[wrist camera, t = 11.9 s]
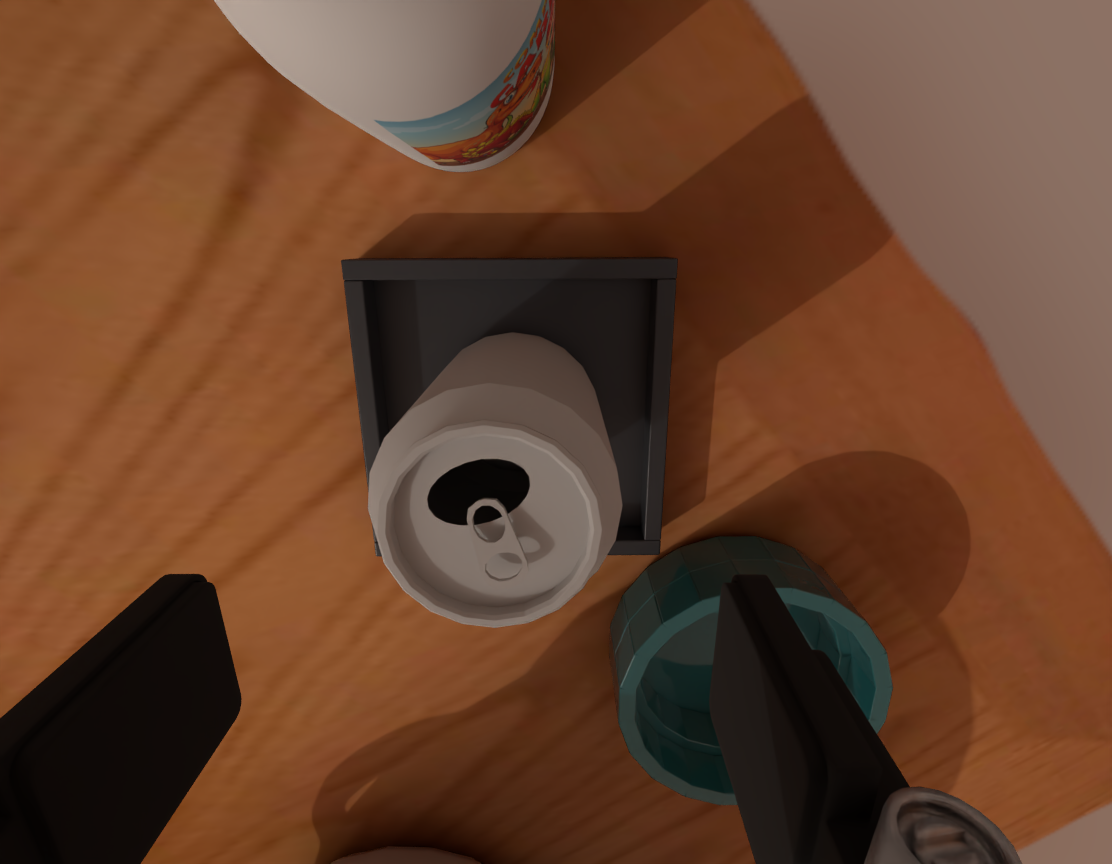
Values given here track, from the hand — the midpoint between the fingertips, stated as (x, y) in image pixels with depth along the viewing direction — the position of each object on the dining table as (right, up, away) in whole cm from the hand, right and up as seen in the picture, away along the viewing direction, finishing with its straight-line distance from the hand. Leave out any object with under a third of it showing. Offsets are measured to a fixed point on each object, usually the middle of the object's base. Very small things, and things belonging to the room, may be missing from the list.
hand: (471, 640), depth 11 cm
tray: (0, +5, +17) cm, 17 cm away
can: (0, +5, +16) cm, 17 cm away
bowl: (+11, -7, +21) cm, 25 cm away
